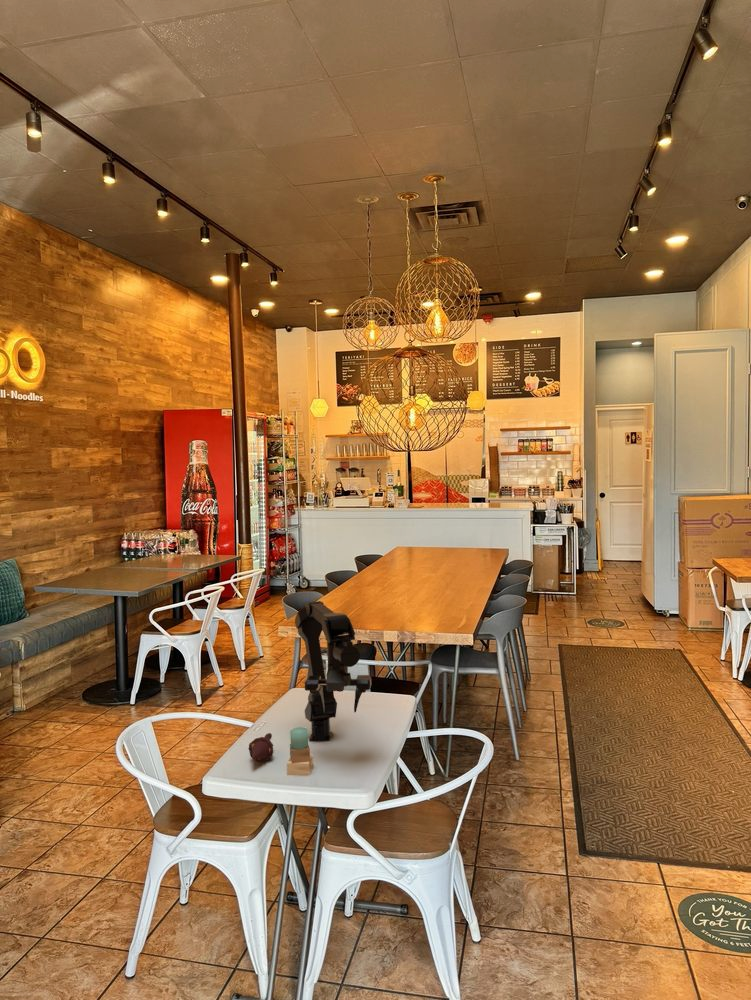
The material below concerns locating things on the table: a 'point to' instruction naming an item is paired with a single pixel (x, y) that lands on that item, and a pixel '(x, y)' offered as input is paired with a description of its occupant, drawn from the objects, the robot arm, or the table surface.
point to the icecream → (261, 748)
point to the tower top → (300, 755)
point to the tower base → (300, 767)
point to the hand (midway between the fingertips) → (339, 712)
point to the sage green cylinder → (299, 738)
